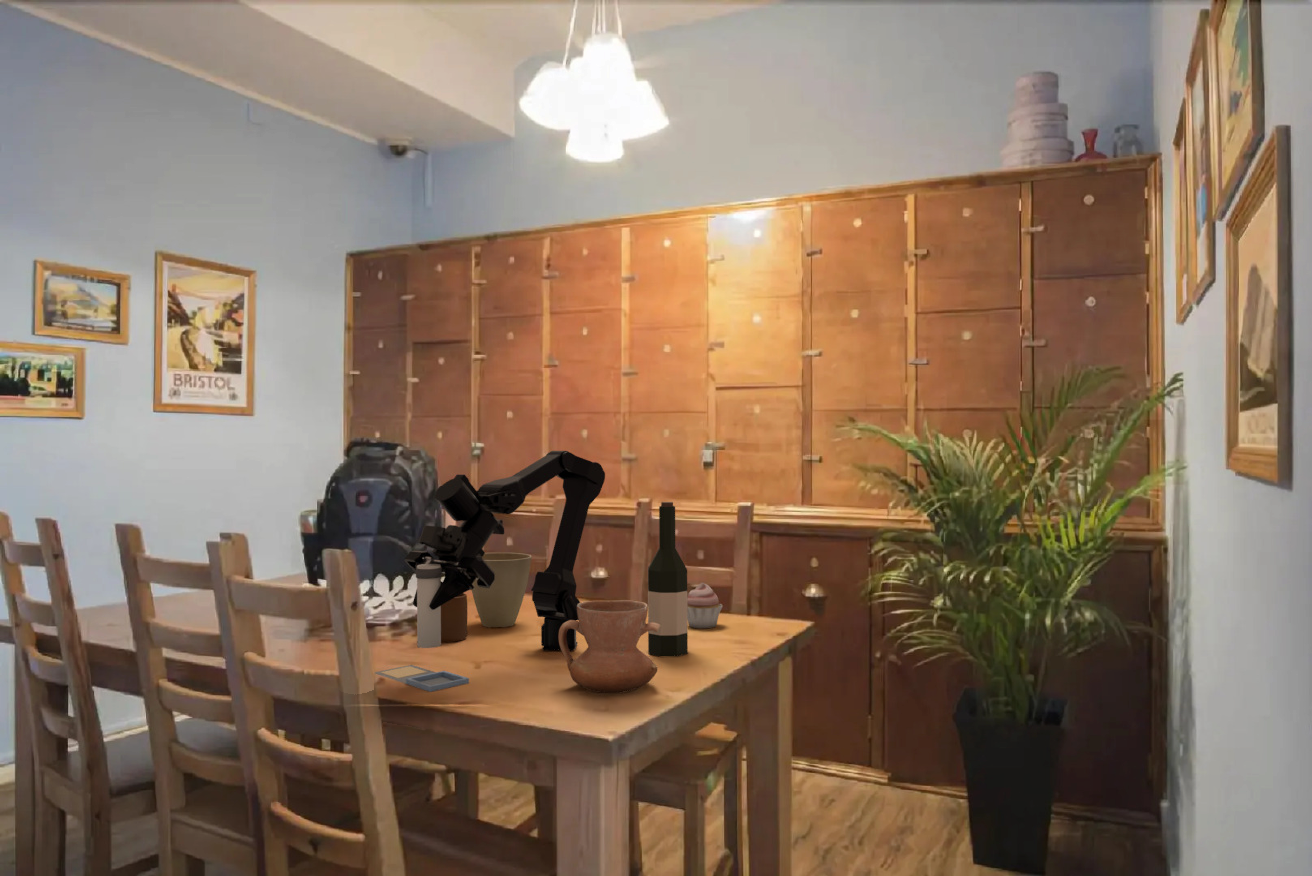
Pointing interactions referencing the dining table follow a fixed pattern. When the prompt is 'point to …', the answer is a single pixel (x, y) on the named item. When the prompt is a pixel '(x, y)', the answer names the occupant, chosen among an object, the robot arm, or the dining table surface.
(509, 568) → the plant pot
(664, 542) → the wine bottle
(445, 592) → the robot arm
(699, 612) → the cupcake
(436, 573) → the white grey banded cylinder
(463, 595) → the mug
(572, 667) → the ceramic jug
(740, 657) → the dining table surface
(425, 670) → the grey rectangular board
